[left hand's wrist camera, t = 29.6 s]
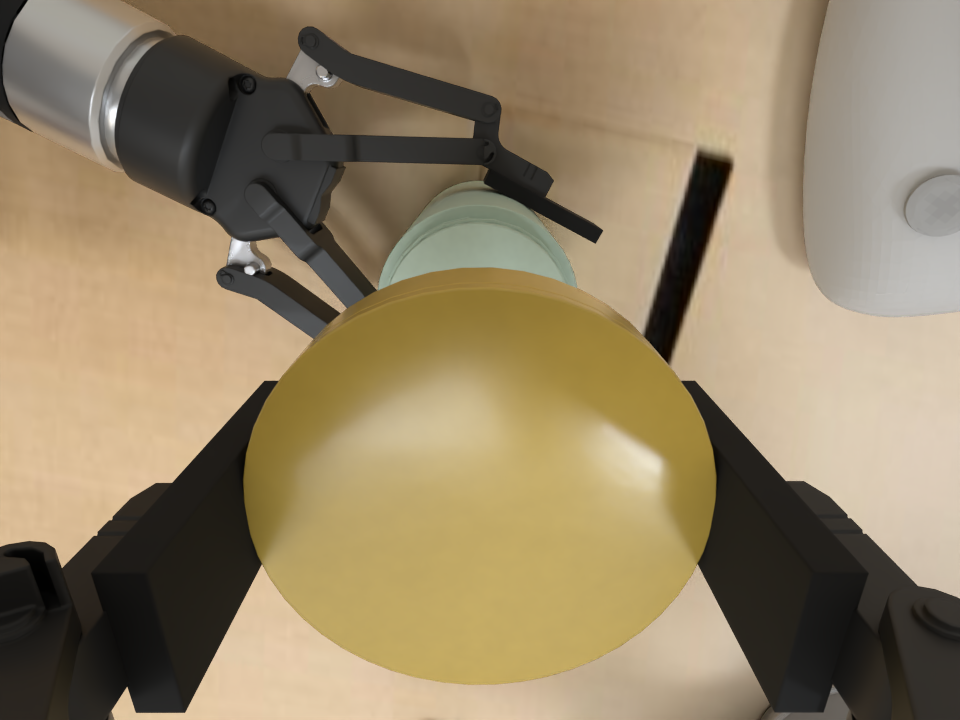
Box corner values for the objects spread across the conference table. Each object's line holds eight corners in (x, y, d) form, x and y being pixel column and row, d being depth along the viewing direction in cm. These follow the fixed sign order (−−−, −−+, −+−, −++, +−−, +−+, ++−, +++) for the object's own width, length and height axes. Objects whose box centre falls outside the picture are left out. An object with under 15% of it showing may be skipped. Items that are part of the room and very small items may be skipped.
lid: (755, 514, 13) (793, 566, 11) (434, 676, 15) (429, 740, 13) (546, 168, 10) (558, 173, 8) (184, 423, 12) (139, 464, 10)
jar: (385, 245, 36) (326, 313, 22) (481, 150, 34) (483, 158, 20) (475, 336, 39) (473, 449, 25) (569, 252, 37) (627, 323, 22)
